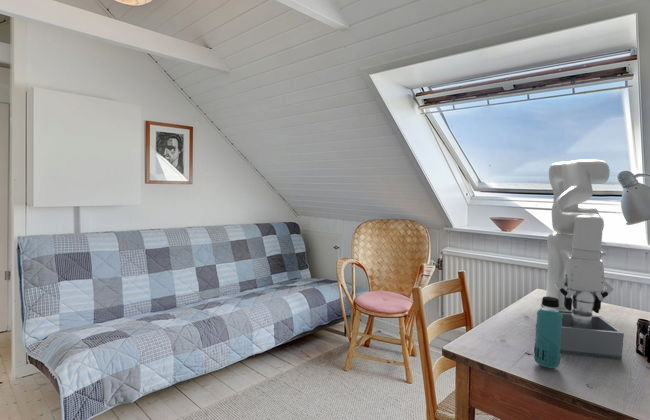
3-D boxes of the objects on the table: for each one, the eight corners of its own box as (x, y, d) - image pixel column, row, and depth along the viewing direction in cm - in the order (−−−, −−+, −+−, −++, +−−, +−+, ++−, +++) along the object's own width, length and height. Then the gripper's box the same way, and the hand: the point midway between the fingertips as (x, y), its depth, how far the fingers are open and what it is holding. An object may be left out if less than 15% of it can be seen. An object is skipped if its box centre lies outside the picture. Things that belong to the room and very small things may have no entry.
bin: (542, 334, 134) (543, 311, 133) (598, 339, 130) (600, 316, 129) (557, 352, 119) (559, 327, 119) (621, 359, 116) (623, 333, 115)
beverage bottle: (562, 367, 110) (567, 297, 108) (556, 376, 105) (561, 303, 103) (536, 360, 114) (540, 292, 113) (530, 367, 109) (534, 297, 108)
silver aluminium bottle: (570, 345, 122) (576, 282, 121) (564, 337, 129) (570, 277, 127) (594, 348, 121) (600, 284, 119) (587, 340, 127) (593, 279, 126)
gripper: (611, 254, 124) (607, 309, 126) (551, 251, 128) (547, 304, 129) (623, 259, 117) (619, 317, 118) (559, 255, 121) (555, 311, 122)
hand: (581, 310), depth 124 cm, fingers open, 7 cm apart
